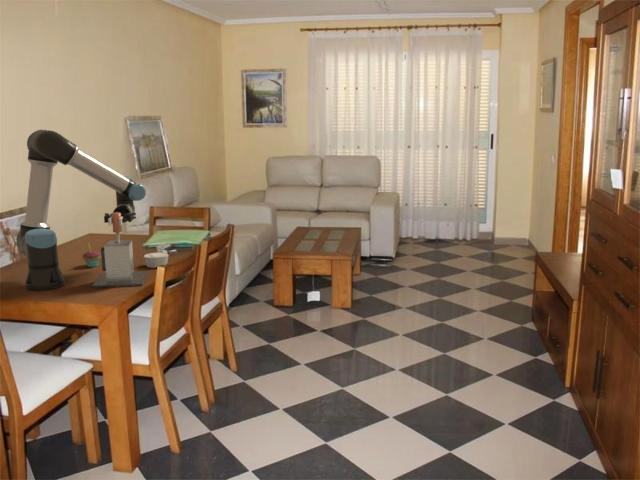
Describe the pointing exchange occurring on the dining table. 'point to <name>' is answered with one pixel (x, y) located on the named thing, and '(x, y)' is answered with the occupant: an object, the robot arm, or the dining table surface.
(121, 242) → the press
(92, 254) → the cupcake
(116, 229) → the salmon orange cylinder
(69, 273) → the dining table surface
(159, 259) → the ramekin
